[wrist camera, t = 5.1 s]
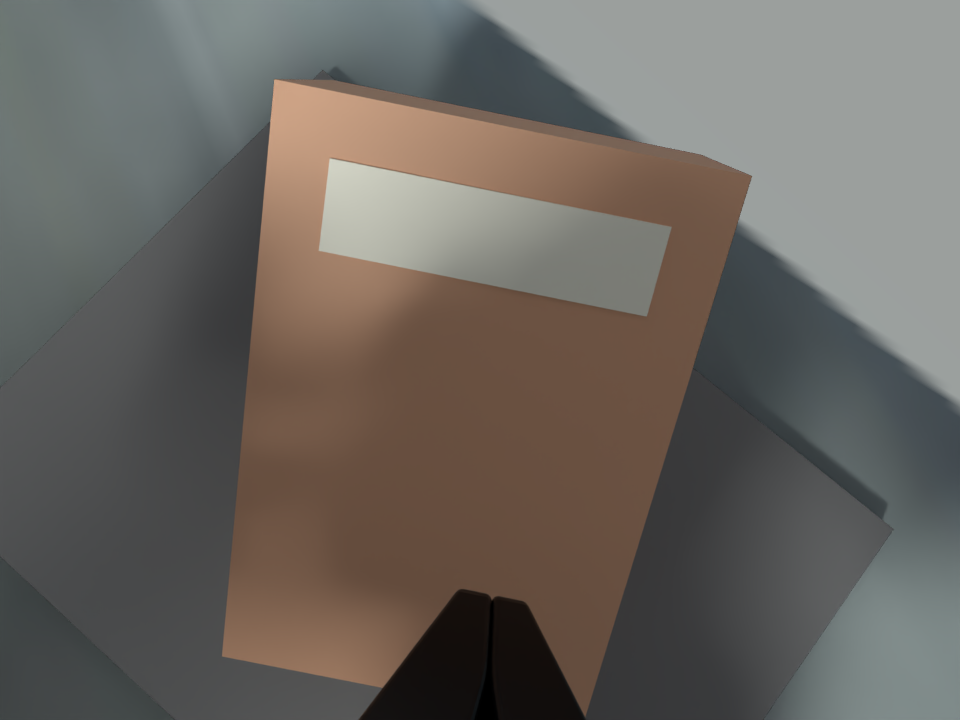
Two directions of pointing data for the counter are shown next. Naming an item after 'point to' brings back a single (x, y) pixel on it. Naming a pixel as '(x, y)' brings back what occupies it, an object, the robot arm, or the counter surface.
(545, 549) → the card box
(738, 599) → the mat
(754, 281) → the counter surface
